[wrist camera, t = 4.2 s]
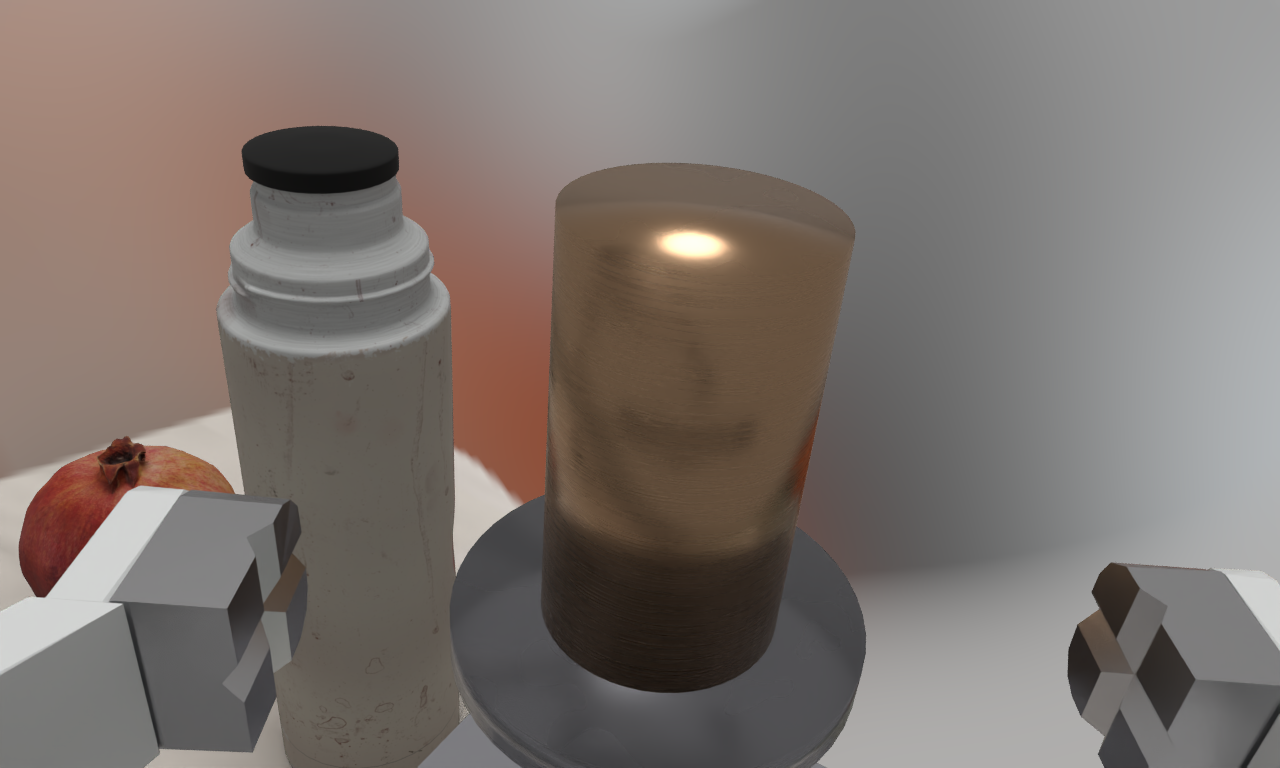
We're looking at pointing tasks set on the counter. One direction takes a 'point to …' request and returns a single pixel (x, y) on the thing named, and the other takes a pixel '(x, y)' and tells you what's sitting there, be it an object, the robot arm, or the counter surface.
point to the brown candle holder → (672, 490)
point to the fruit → (99, 501)
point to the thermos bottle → (349, 439)
